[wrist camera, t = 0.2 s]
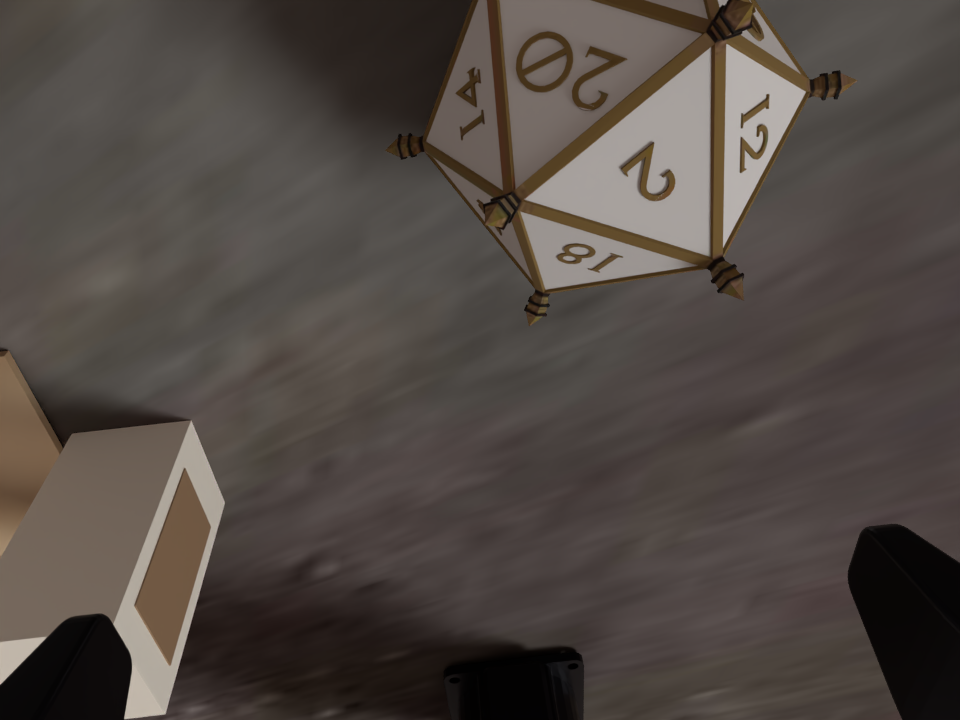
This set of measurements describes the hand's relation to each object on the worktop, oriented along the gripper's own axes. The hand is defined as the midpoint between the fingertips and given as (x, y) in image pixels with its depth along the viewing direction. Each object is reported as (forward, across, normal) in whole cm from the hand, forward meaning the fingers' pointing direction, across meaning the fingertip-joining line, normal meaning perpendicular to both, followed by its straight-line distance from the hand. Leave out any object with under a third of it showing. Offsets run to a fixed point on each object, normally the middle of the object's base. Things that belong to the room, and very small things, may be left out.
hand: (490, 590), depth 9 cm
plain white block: (+14, +11, +10) cm, 21 cm away
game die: (+14, -4, -2) cm, 15 cm away
